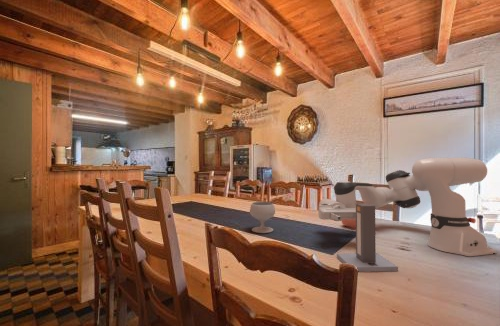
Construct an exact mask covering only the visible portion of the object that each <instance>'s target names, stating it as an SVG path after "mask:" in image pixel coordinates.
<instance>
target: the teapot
mask: <svg viewBox="0 0 500 326" xmlns="http://www.w3.org/2000/svg"><path fill="white" fill-rule="evenodd" d="M340 222H341V223H342V225H344V227H345V226H346V227H347V228H349V227H351V229H352V230H356V219H343V220H341V221H340Z"/></svg>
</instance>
